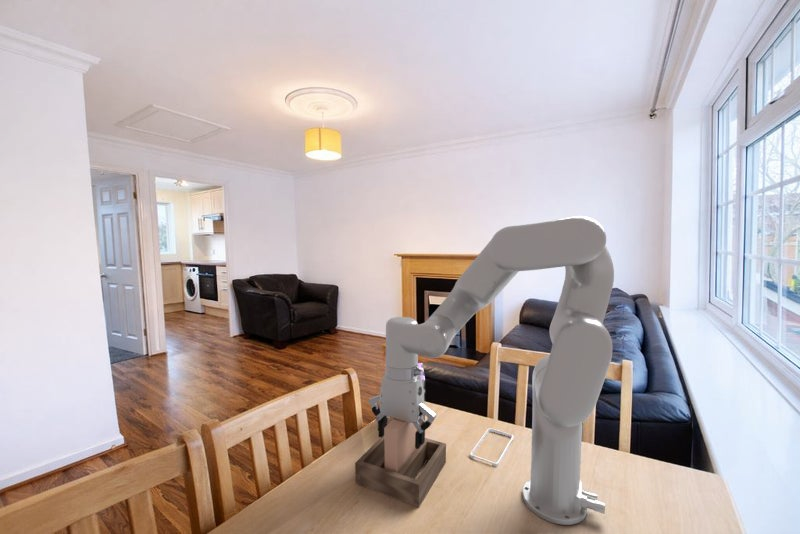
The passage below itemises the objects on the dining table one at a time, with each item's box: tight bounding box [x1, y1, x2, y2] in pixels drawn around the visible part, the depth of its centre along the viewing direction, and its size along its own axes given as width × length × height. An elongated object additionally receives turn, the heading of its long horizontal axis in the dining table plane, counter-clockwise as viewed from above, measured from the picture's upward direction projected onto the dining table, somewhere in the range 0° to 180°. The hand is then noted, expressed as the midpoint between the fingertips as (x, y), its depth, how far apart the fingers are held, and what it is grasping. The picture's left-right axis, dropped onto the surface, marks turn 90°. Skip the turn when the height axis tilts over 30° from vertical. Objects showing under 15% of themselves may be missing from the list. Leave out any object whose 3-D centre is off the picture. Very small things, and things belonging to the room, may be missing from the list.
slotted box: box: [354, 436, 447, 508], centre depth 85 cm, size 16×16×5 cm
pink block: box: [384, 418, 417, 473], centre depth 85 cm, size 3×12×14 cm, turn 153°
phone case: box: [469, 427, 515, 467], centre depth 96 cm, size 7×1×15 cm
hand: (400, 440), depth 85 cm, fingers open, 9 cm apart
